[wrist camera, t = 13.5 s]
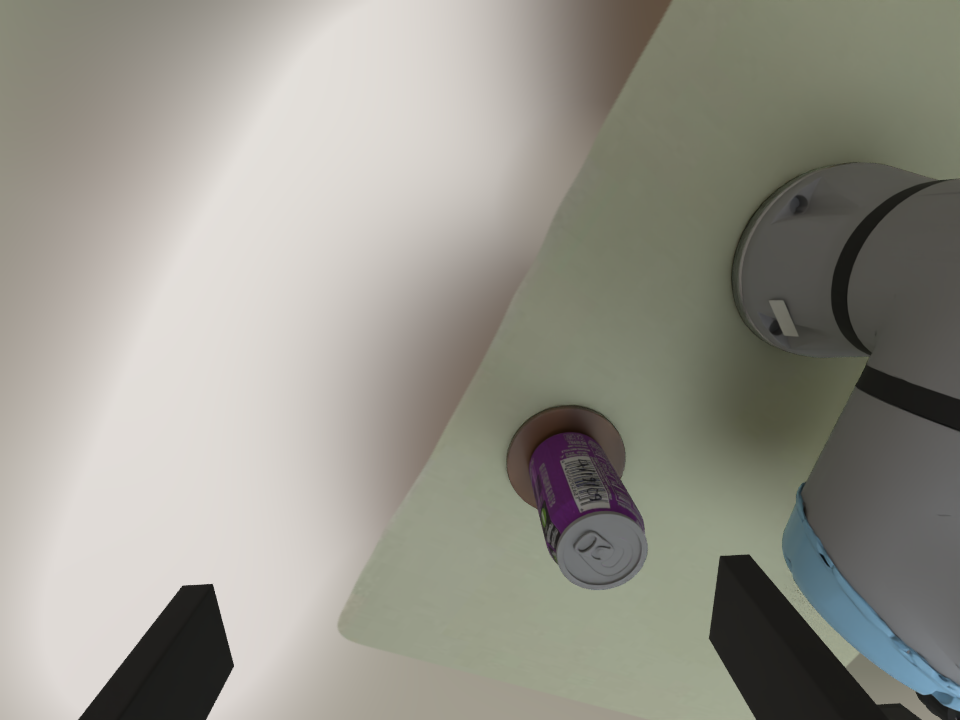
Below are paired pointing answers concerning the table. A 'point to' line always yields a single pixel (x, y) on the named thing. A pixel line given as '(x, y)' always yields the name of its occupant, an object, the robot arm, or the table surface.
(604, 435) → the coaster
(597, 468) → the beverage can
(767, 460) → the table surface
